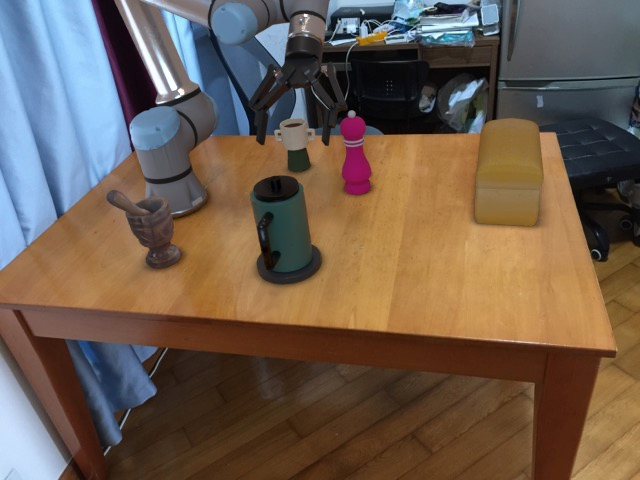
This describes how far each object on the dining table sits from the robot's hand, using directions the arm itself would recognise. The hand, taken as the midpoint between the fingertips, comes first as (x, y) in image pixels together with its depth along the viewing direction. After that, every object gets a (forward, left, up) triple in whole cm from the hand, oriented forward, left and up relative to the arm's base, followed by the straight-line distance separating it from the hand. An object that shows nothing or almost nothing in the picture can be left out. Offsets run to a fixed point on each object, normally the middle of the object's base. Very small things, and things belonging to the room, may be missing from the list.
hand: (291, 143), depth 107 cm
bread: (+2, +46, -22) cm, 51 cm away
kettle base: (+9, -5, -22) cm, 24 cm away
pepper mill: (-16, +17, -22) cm, 32 cm away
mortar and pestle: (-2, -31, -22) cm, 38 cm away
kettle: (+9, -5, -20) cm, 23 cm away
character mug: (-34, +6, -22) cm, 41 cm away
